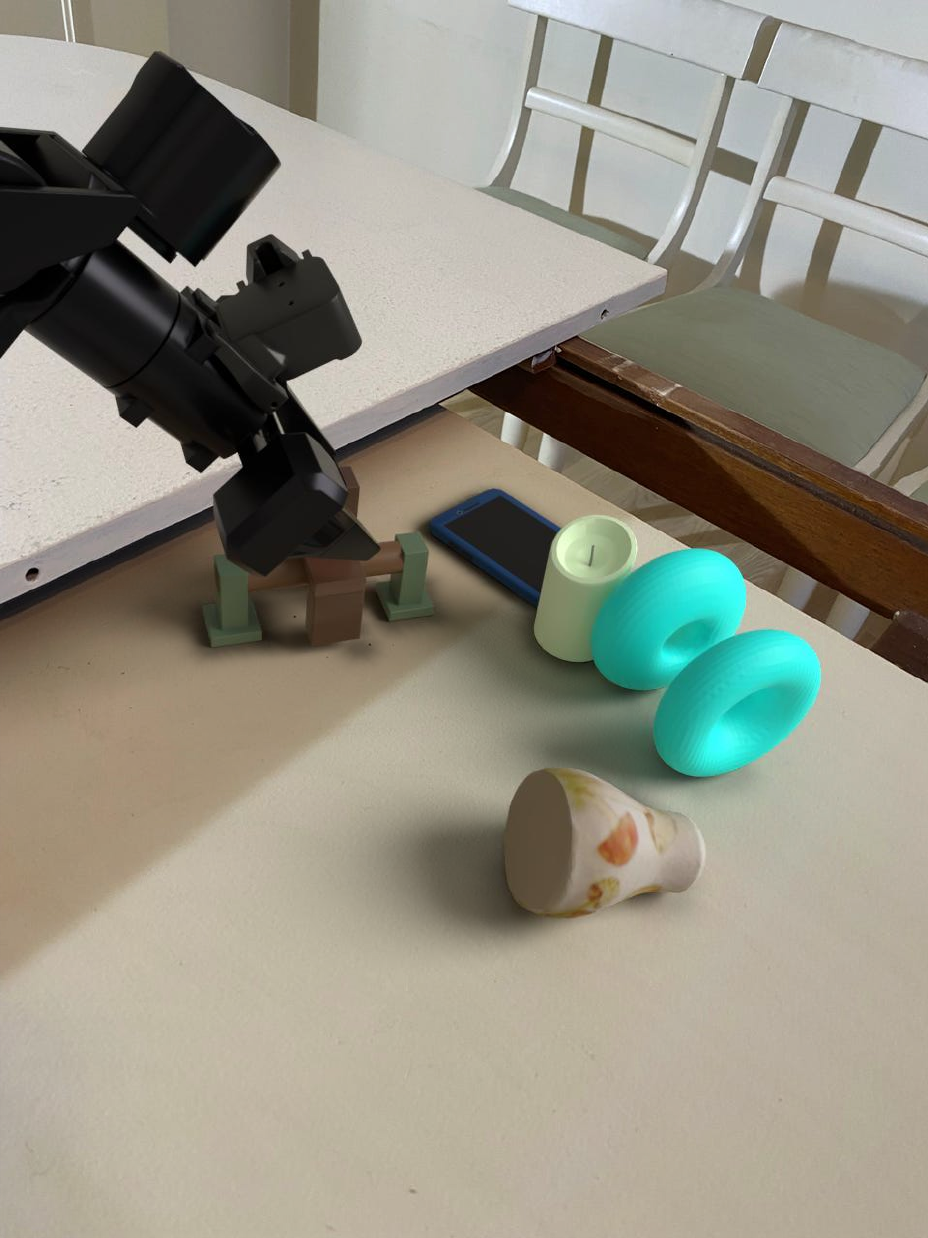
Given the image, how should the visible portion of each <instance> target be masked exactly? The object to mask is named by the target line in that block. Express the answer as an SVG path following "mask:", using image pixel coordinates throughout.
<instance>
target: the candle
mask: <svg viewBox="0 0 928 1238" xmlns="http://www.w3.org/2000/svg"><path fill="white" fill-rule="evenodd" d="M637 541H638V539H637V538H636V536H635V534H634V531H633V530H632V529H631V528H630V527H629V526H628V525H627V524H626V523H625V522H623V521H622V520H619V518H616V517H612V516H608V515H603V514H591V515H585V516H581V517H579V518H576V519H573V520H572V521H570V522H568V523H567V524H565V525H563V527H561V530H560V531H559V532H558V533H557V534H556V536H555V537H554V539H553V541H552V544H551V548H550V553H549V557H548V562H547V567H546V572H545V576H544V581H543V586H542V590H541V595H540V600H539V605H538V608H537V609H536V615H535V619H534V624H533V632H534V633H533V634H534V636H535V639H536V641H537V643H538V645H540V647H541V648H542V649H543V650H544V651H546V652H547V653H549V654H550V655H551V656H553V657H555V658H557V659H559V660H564V661H567V662H573V663H584V662H590V661H594V659H593V656H592V652H591V633H592V628H593V625H594V622H595V619H596V617H597V615H598V612H599V610H600V608H601V607H602V605H603V604H604V602H605V600H606V599H607V598H608V596H609V595H610V594H611V592H612V591H613V590H614V589H615V588H616V587H617V586H618V585H619V584H620V583H621V582H622V581H623V580H624V579H625V578H626V577H627V576H629V575H630V574H631V573H632V572H633V570H634V569H633V568H634V566H635V563H636V560H637V559H636V558H637V555H638V542H637Z"/></svg>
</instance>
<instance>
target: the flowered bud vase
mask: <svg viewBox="0 0 928 1238" xmlns="http://www.w3.org/2000/svg"><path fill="white" fill-rule="evenodd" d="M503 835H504V837H503V853H504V868H505V869H504V870H505V877H506V882H507V885H508V889H509V890H510V893H511V895H512V897H513V898H514V900H516V904H518V905H519V906H520V907H522V908H524V909H525V910H528V911H530V912H533V913H534V914H537V915H539V916H543V917H548V918H553V919H574V918H579V917H584V916H588V915H592V914H595V913H597V912H599V911H602V910H604V909H607V908H609V907H612V906H613V905H615V904H618V903H620V902H623V901H624V900H627V899H630V898H633V897H634V896H637V895H640V894H644V893H655V892H656V893H675V894H678V893H679V894H681V893H683V892H686V891H688V890H689V889H690V888H691V887H693V885H694V884H695V883H696V881H698V879H699V878H700V877H701V875H702V873H703V871H704V868H705V865H706V860H707V851H706V843H705V839H704V837H703V835H702V832H701V830H700V829H699V828H698V827H697V825H696V823H695V821H693V820H692V819H691V818H690V817H689V816H688V815H686V814H684V813H682V812H677V811H670V810H669V811H668V810H661V809H656V808H652V807H649V806H648V805H647V806H646V805H644V804H643V803H641V802H638V800H635V798H633V797H631V796H629V795H628V794H626V793H625V792H623V791H622V790H620V789H618V788H617V787H615V786H614V785H613V784H610V783H609V782H607V781H606V780H604V779H602V778H600V777H598V776H596V775H595V774H592V773H589V772H587V771H585V770H581V769H578V768H573V767H563V766H562V767H545V768H541V769H538V770H534V771H532V772H530V773H529V774H528V775H526V777H524V778H523V780H522V781H521V782H520V784H519V785H518V787H517V788H516V791H515V793H514V795H513V797H512V800H511V802H510V805H509V807H508V812H507V817H506V823H505V828H504V834H503Z"/></svg>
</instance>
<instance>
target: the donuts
mask: <svg viewBox="0 0 928 1238" xmlns="http://www.w3.org/2000/svg"><path fill="white" fill-rule="evenodd" d="M746 606H747V587H746V583H745V579H744V577H743V575H742V573H741V571H740V569H739V567H738V566H737V565H736V564H735V563H734V562H733V561H732V560H731V559H729V557H727V556H725V555H724V554H722V553H720V552H718V551H714V550H711V549H706V548H685V549H680V550H674V551H670V552H667V553H665V554H661V555H659V556H657V557H655V558H653V559H651V560H649V561H647V562H646V563H643V564H642V565H641V566H639V567H638V568H636V569H635V570H633V571H632V573H631V574H630V575H629V576H627V577H626V578H625V579H624V580H623V581H622V582H621V583H620V584H619V585H618V586H617V587H616V588H615V589H614V590H613V591H612V592H611V594H610V595H609V596H608V598H607V599H606V600H605V602H604V604H603V605H602V607H601V608H600V610H599V612H598V615H597V617H596V619H595V622H594V625H593V628H592V633H591V652H592V656H593V663H594V664H595V666H596V668H597V669H598V671H599V672H600V674H601V675H603V677H604V678H606V679H607V680H608V681H609V682H611V683H613V684H615V685H617V686H619V687H620V688H624V689H629V690H634V691H650V690H651V691H652V690H659V689H662V688H666V687H667V688H666V689H665V691H664V693H663V695H662V696H661V699H660V700H659V703H658V705H657V708H656V710H655V714H654V719H653V728H652V731H653V740H654V741H653V742H654V744H655V745H654V746H655V748H656V750H657V752H658V755H659V756H660V757H661V759H662V760H663V762H665V763H666V765H668V767H670V768H671V769H673V770H675V771H676V772H679V773H681V774H683V775H686V776H691V777H705V778H706V777H715V776H720V775H723V774H727V773H730V772H733V771H735V770H738V769H740V768H743V767H745V766H747V765H749V764H751V763H753V762H755V761H757V760H758V759H760V758H761V757H763V756H765V755H766V754H768V753H769V752H770V751H772V750H774V749H775V748H776V747H777V746H778V745H780V744H781V743H783V741H784V740H785V739H787V737H789V735H790V734H792V733H793V732H794V731H795V729H797V727H798V726H799V725H800V724H801V723H802V721H804V719H805V718H806V716H807V714H808V713H809V712H810V710H811V709H812V707H813V705H814V703H815V702H816V699H817V697H818V694H819V691H820V687H821V682H822V681H821V680H822V670H821V664H820V663H821V662H820V659H819V658H818V656H817V653H816V652H815V650H814V648H812V646H811V645H810V644H809V643H808V642H807V641H806V640H805V639H803V638H802V637H800V636H798V635H797V634H794V633H792V632H789V631H786V630H783V629H782V630H781V629H773V628H763V629H761V628H760V629H754V630H748V631H745V632H741V633H738V634H736V633H737V631H738V629H739V628H740V625H741V622H742V621H743V618H744V614H745V612H746V611H745V610H746Z"/></svg>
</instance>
